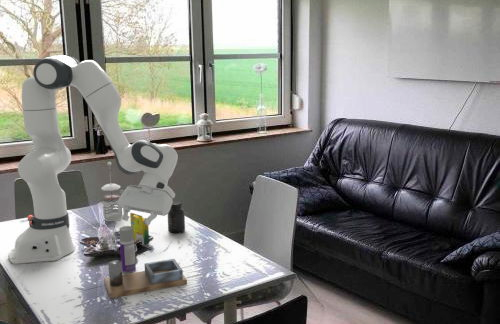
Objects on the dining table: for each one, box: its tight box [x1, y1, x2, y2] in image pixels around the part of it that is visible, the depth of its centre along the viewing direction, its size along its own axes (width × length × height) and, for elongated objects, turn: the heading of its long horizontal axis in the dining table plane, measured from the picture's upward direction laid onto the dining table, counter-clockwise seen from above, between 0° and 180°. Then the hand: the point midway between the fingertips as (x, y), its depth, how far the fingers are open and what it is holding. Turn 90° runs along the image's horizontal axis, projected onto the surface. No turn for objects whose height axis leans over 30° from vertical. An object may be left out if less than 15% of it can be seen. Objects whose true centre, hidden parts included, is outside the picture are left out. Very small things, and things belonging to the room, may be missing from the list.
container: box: [118, 225, 137, 274], centre depth 179 cm, size 5×5×15 cm
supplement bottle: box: [167, 201, 186, 235], centre depth 215 cm, size 7×7×12 cm
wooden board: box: [103, 258, 188, 299], centre depth 170 cm, size 24×12×4 cm, turn 113°
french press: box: [101, 161, 125, 222], centre depth 231 cm, size 10×12×25 cm
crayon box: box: [129, 212, 150, 246], centre depth 204 cm, size 7×3×12 cm, turn 50°
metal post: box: [107, 259, 124, 287], centre depth 166 cm, size 4×4×7 cm
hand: (135, 222), depth 181 cm, fingers open, 8 cm apart
